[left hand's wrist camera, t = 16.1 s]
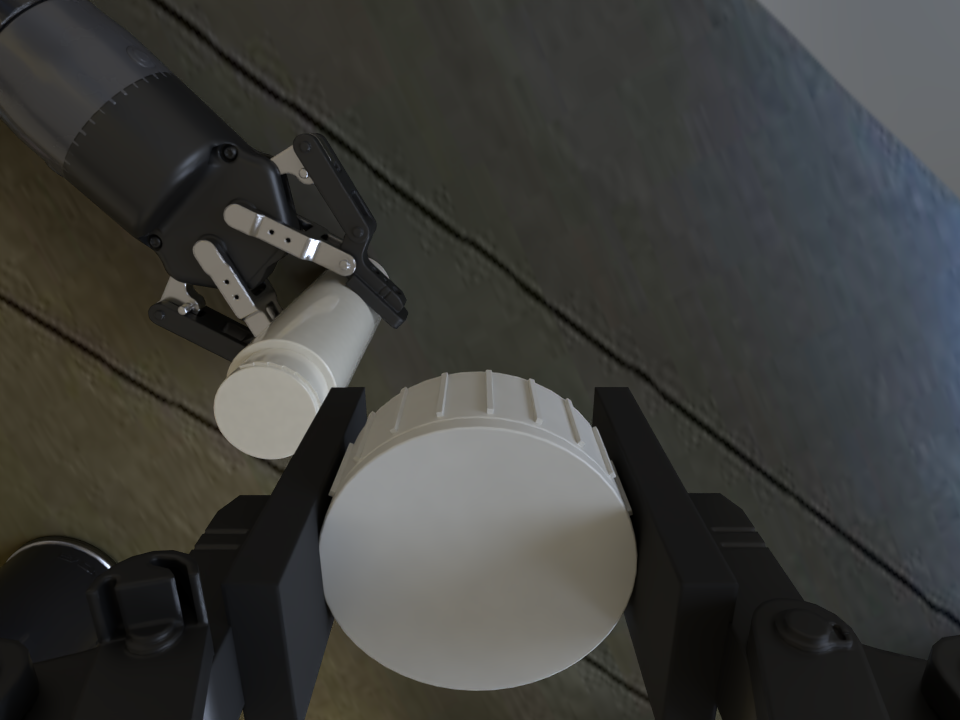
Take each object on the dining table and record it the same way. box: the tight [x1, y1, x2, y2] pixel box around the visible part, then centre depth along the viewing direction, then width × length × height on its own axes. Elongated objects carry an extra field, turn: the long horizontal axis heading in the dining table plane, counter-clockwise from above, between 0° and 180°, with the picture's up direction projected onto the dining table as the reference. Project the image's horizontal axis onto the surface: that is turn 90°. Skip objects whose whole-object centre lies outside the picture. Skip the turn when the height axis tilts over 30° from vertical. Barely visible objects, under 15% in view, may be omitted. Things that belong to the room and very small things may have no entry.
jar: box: [214, 258, 389, 459], centre depth 33 cm, size 5×5×19 cm
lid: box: [319, 370, 638, 691], centre depth 11 cm, size 5×5×2 cm
